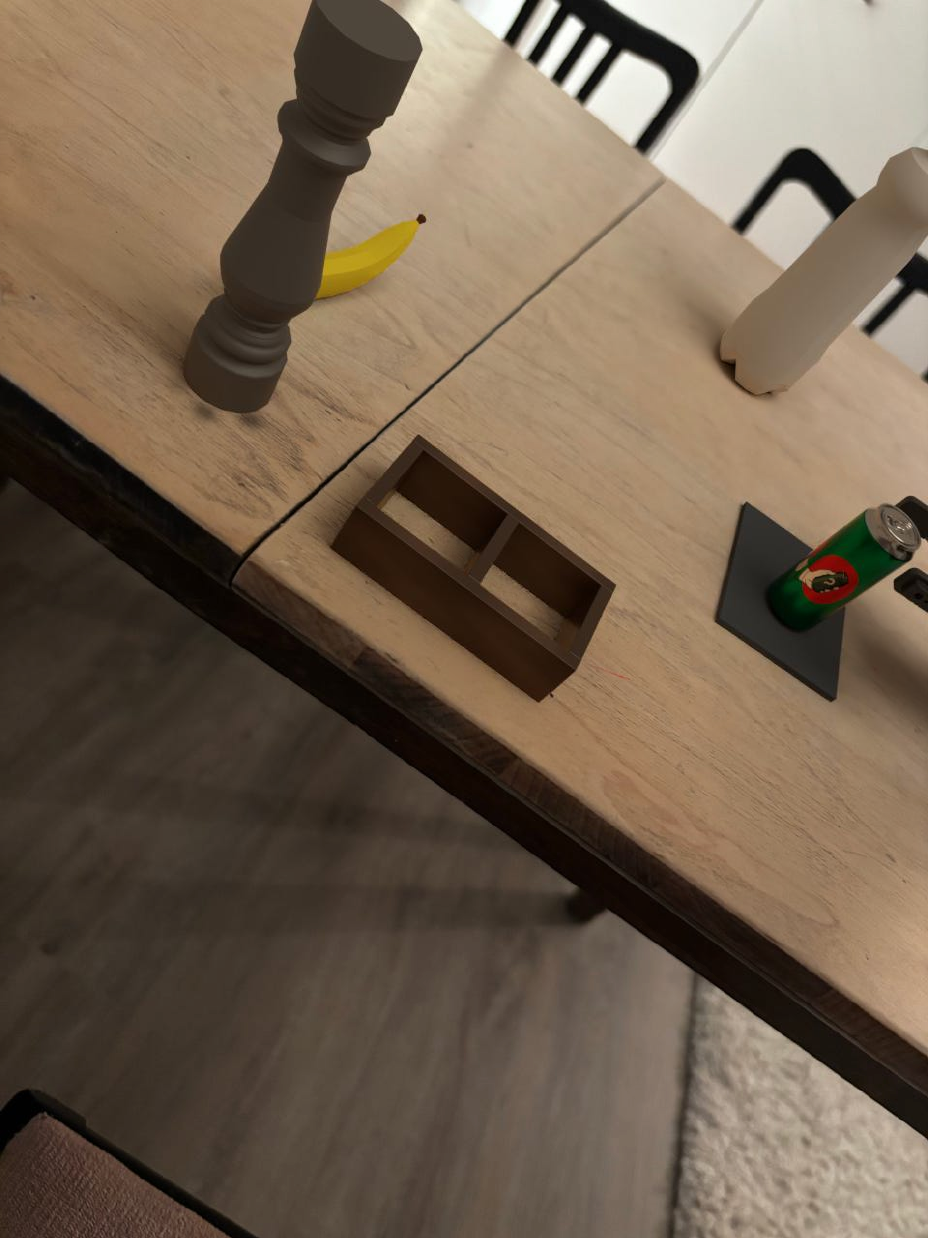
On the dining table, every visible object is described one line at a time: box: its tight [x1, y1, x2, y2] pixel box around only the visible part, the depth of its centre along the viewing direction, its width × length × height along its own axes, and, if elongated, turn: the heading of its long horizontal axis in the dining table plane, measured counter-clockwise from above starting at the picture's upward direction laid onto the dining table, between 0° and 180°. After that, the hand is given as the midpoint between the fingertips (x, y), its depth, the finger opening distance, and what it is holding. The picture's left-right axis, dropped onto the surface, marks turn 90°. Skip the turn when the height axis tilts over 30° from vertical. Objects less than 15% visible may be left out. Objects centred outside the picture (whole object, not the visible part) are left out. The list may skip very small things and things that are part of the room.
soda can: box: [768, 502, 922, 631], centre depth 76 cm, size 5×5×12 cm
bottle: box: [719, 146, 928, 396], centre depth 89 cm, size 9×9×30 cm
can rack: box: [329, 433, 617, 703], centre depth 63 cm, size 17×9×4 cm, turn 64°
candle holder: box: [182, 0, 424, 414], centre depth 55 cm, size 6×6×25 cm
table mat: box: [715, 501, 846, 703], centre depth 81 cm, size 16×12×1 cm
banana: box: [315, 213, 427, 299], centre depth 71 cm, size 3×19×6 cm, turn 133°
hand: (900, 539), depth 72 cm, fingers open, 8 cm apart
